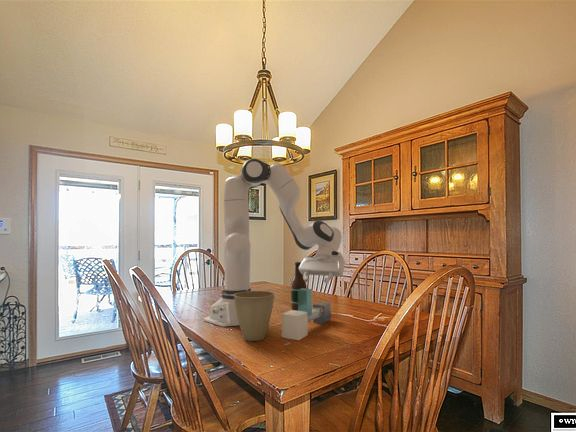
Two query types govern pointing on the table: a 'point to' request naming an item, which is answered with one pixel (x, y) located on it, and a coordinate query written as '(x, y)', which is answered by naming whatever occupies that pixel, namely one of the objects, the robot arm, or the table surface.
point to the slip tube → (307, 304)
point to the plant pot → (254, 313)
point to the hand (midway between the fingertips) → (315, 281)
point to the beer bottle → (296, 286)
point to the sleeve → (325, 314)
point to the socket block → (294, 324)
